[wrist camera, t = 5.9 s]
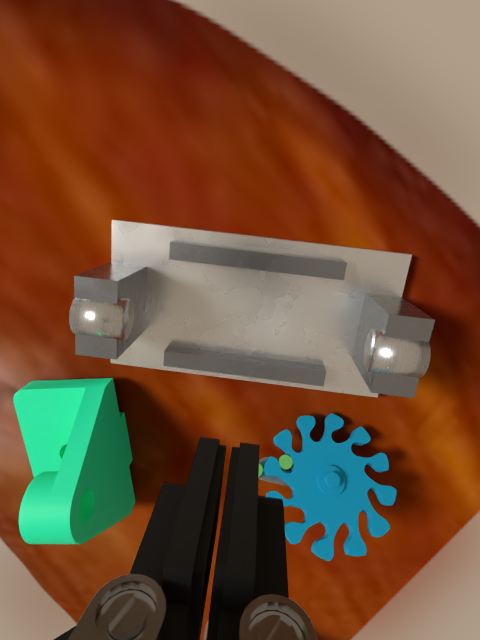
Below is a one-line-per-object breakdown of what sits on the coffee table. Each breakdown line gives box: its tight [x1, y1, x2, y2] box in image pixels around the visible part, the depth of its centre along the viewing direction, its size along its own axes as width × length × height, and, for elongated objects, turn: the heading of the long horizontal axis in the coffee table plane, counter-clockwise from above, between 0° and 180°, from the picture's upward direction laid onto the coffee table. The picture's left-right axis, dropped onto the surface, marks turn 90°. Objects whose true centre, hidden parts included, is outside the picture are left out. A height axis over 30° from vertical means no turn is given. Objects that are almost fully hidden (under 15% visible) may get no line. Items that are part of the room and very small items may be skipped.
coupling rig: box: [69, 219, 435, 398], centre depth 25 cm, size 11×21×7 cm, turn 84°
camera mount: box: [13, 378, 136, 544], centre depth 28 cm, size 12×8×10 cm, turn 4°
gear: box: [258, 413, 397, 561], centre depth 30 cm, size 11×6×10 cm
